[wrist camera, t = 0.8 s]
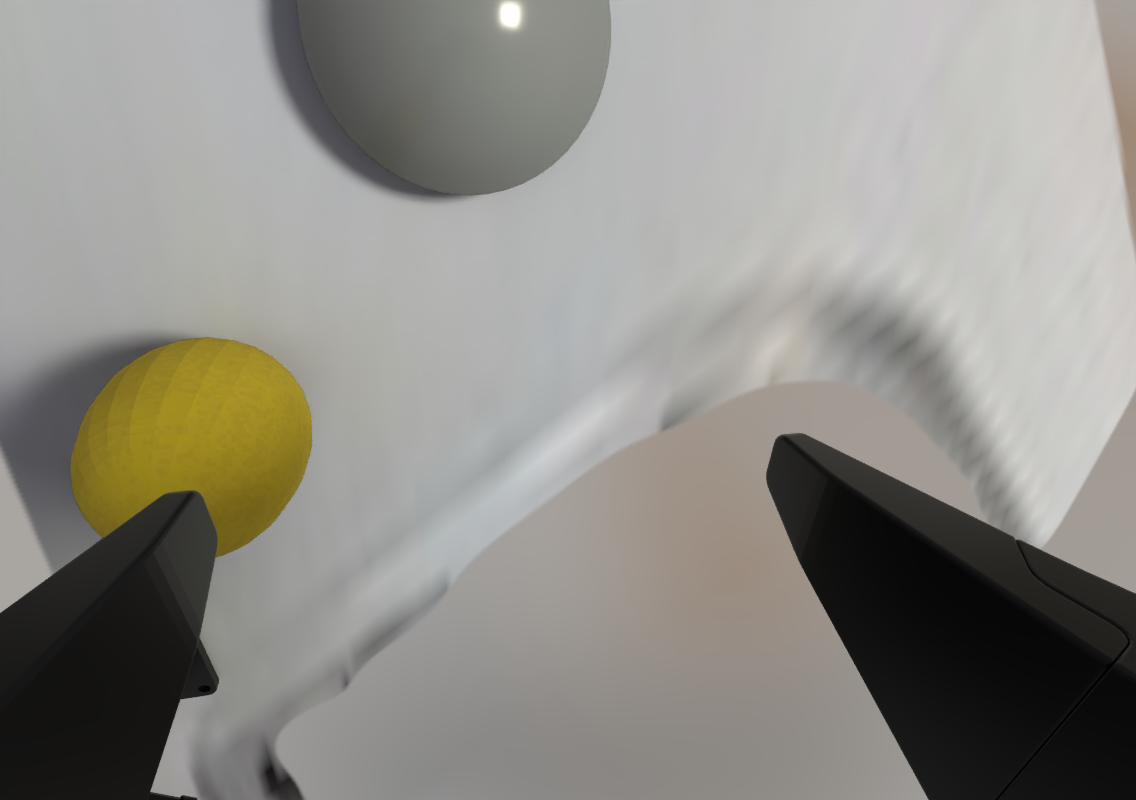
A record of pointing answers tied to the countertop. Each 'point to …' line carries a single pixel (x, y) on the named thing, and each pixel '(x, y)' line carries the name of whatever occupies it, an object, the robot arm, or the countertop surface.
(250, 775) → the countertop surface
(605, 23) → the coaster
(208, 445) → the lemon
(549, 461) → the countertop surface
